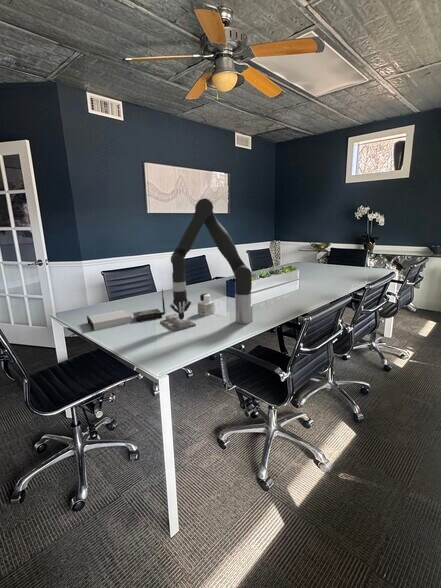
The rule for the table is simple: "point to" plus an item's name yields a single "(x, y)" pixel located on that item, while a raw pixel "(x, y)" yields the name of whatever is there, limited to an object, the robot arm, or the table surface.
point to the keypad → (176, 324)
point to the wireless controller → (149, 313)
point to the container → (205, 305)
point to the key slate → (175, 317)
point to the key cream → (181, 320)
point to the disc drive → (108, 320)
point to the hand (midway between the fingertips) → (181, 318)
